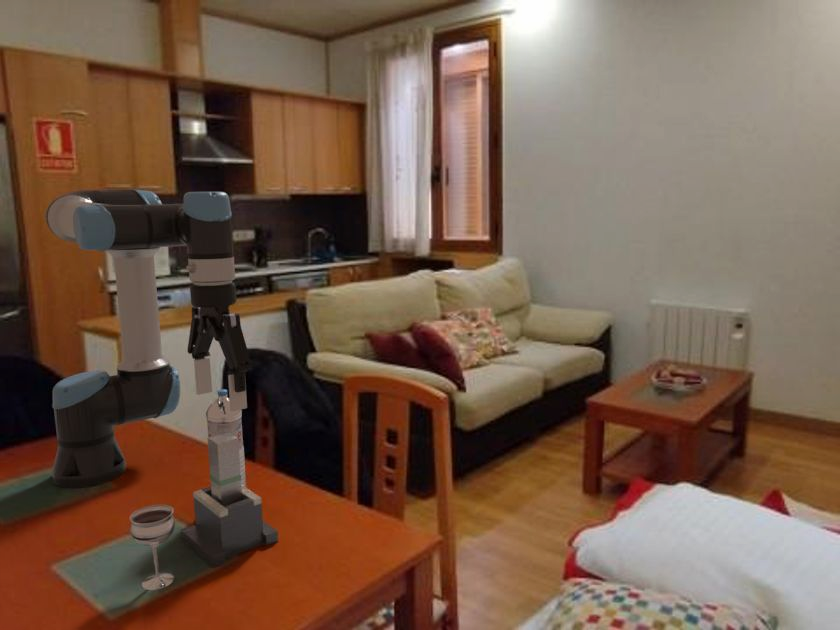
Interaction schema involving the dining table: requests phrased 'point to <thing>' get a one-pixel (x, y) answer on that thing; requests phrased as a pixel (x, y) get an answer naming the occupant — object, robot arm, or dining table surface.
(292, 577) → the dining table surface
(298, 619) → the dining table surface
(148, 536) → the wineglass
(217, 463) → the column
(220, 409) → the water bottle
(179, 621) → the dining table surface
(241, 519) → the sleeve
